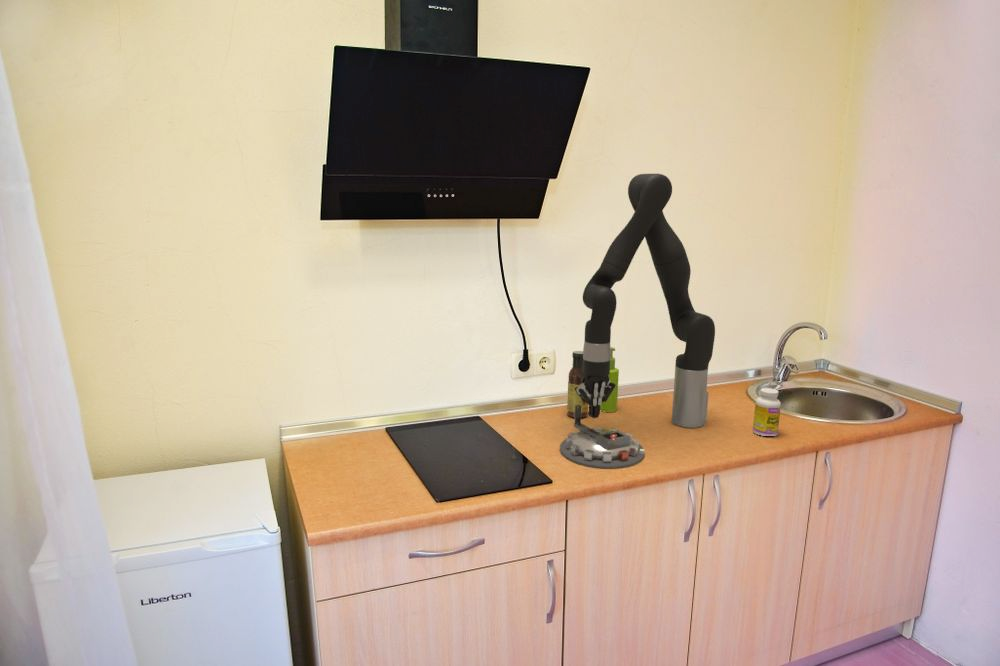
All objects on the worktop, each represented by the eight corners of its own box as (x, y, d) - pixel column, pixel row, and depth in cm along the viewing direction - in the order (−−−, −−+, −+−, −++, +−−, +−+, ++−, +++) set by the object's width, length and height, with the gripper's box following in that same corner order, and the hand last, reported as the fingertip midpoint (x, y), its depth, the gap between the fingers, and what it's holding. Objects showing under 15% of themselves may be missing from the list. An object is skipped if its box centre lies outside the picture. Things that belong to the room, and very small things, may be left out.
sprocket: (602, 427, 185) (603, 400, 183) (653, 453, 167) (655, 423, 165) (547, 438, 176) (548, 410, 174) (595, 467, 158) (596, 436, 156)
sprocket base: (608, 430, 185) (608, 425, 185) (662, 458, 167) (662, 452, 166) (543, 444, 175) (544, 439, 175) (593, 475, 156) (594, 469, 156)
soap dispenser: (592, 406, 206) (595, 345, 202) (613, 406, 207) (616, 345, 202) (597, 413, 200) (599, 350, 196) (619, 412, 201) (622, 349, 197)
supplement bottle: (765, 439, 180) (769, 395, 177) (747, 431, 186) (751, 388, 183) (783, 435, 183) (787, 392, 180) (764, 428, 188) (769, 385, 186)
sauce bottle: (586, 419, 194) (589, 355, 190) (566, 418, 196) (567, 354, 191) (588, 412, 201) (590, 350, 196) (568, 411, 202) (570, 349, 198)
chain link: (617, 439, 171) (618, 430, 170) (629, 445, 167) (630, 436, 166) (595, 443, 168) (596, 434, 167) (607, 450, 163) (608, 441, 163)
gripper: (585, 363, 172) (583, 425, 175) (624, 357, 178) (621, 417, 182) (569, 357, 178) (567, 416, 182) (607, 351, 184) (604, 409, 188)
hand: (594, 417), depth 182 cm, fingers closed
